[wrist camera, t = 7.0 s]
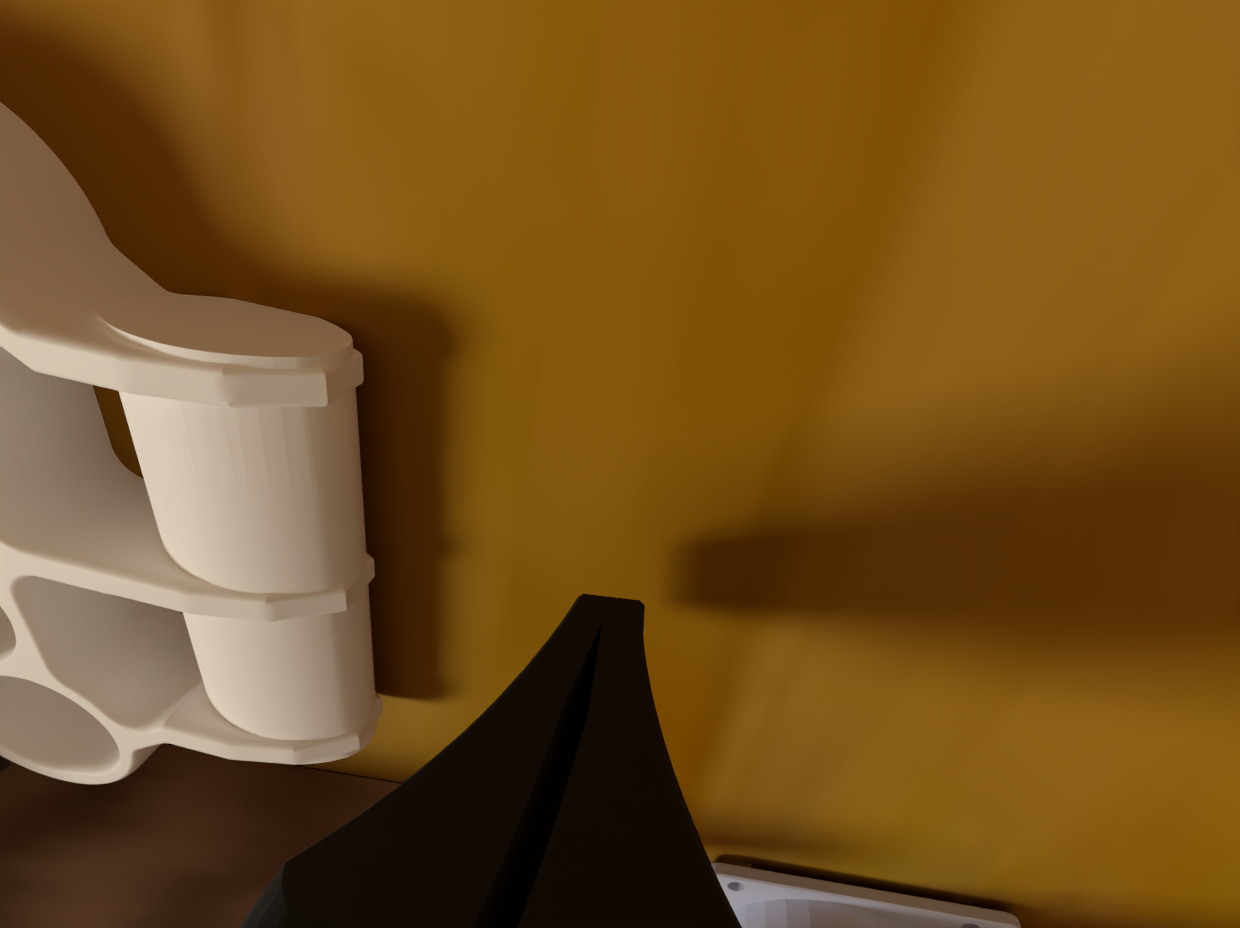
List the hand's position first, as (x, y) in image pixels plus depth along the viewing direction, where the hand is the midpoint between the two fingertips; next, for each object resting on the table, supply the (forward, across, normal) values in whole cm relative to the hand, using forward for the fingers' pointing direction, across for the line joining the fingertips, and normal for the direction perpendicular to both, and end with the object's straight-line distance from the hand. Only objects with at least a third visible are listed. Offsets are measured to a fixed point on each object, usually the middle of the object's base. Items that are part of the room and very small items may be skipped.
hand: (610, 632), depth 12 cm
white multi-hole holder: (+2, +13, -1) cm, 13 cm away
